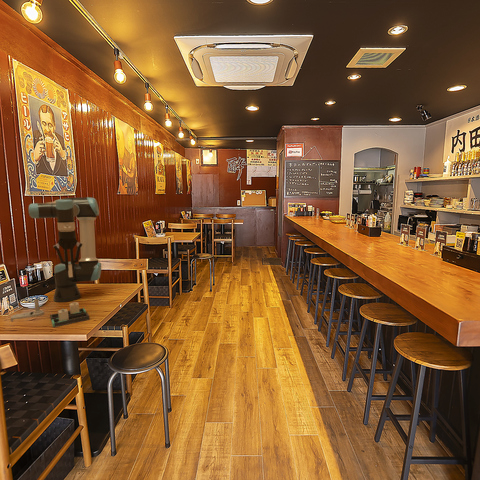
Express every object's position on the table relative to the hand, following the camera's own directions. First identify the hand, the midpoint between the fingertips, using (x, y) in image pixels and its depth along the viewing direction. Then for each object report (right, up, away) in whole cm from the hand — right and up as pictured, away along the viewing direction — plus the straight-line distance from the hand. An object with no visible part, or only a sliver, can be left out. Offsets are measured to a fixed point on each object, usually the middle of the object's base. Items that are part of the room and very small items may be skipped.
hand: (70, 276), depth 156 cm
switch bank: (-4, -24, +5) cm, 25 cm away
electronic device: (-28, -24, +9) cm, 38 cm away
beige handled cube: (-4, -23, 0) cm, 24 cm away
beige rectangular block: (-3, -22, +10) cm, 24 cm away
